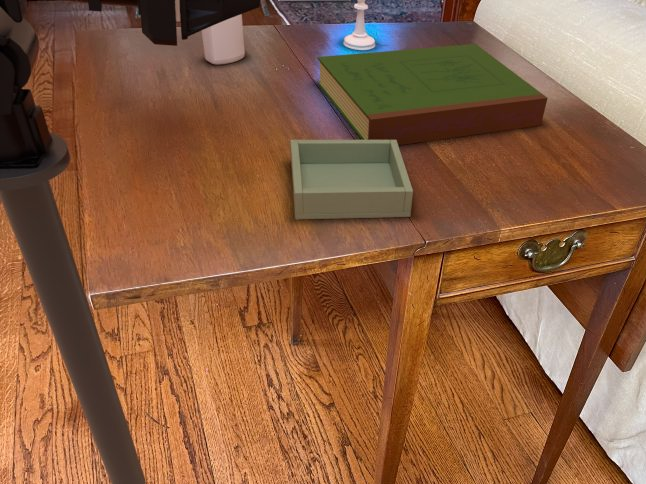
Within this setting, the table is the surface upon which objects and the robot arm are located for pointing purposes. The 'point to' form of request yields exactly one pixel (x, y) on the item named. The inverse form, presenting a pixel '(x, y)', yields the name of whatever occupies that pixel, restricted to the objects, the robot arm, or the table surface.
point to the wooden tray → (349, 179)
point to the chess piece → (359, 31)
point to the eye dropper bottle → (224, 41)
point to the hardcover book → (428, 93)
